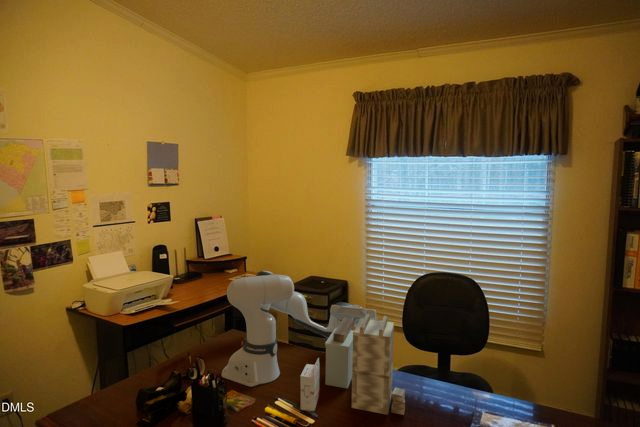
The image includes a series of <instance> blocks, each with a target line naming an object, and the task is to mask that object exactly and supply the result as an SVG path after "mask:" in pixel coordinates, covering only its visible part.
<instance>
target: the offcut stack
mask: <svg viewBox="0 0 640 427" xmlns="http://www.w3.org/2000/svg"><path fill="white" fill-rule="evenodd" d="M405 397H406V389H402V388H399V387H394V389H392V395H391V400H392V401H391V402H392V403H391V413H393V414H397V415H402V416H405V411H406V410H405V409H406V399H405Z"/></svg>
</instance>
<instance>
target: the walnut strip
mask: <svg viewBox="0 0 640 427" xmlns="http://www.w3.org/2000/svg"><path fill="white" fill-rule="evenodd" d="M353 326H354V318H350V317H344V318H343V320H342V321H341V323H340V324H339V326H338V327H337V329H336V330H335V332H334V333H333V341H335V342H342V343H344V341H345V340H346V338H347V336H348V334H349V333H350V331H351V330H352V329H353Z"/></svg>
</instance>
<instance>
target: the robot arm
mask: <svg viewBox="0 0 640 427" xmlns="http://www.w3.org/2000/svg"><path fill="white" fill-rule="evenodd" d="M226 297H227V300H228V302H229V303H230V304H231V305H232V306H233V307H234V308H235V309H236V308H237V309H238V310H239V311H240V313H242V315H243V317H244V320H245V324H246V326H245V327H246V336H245V337H244V338H243V340H242V341H241V342H240V343H241V344H240V346H242V347H241V348H240V349H238V350H236V351H235V352H234V353H233V354H232V355H231V356H230V358H229V359H228V363H227V365H226V366H225V367H224V368H223V369H222V371H221V377H222V378H224V379H227V380H230V381H232V382H235V383H238V384H240V385H244V386H247V387H250V388H251V387H252V388H253V387H256V386H258V385H263V384H267V383H271V382H273V381H275V380H277V378H279V376H280V374H281V371H280V367H279V364H278V358H277V352H278V338H277V335H276V334H277V331H276V330H277V325H276V324H277V322H276V318H275V317H274V316H273V315H272V313H270V308H271V309H273V310H275V311H278V312H281V313H285V314H288V315H290V316H291V317H292V318H293V319H294V322H295V323H296V324H297V325H299V326H300V327H303V328H305V329H307V330H309V331H312V332H313V333H316V334H318V335H320V336H322V337H325V338H327V339H328V338H329V337H330V335H331V334H332V332H333V331H334V329H335V328H337V327H338V326H339V324H340V323H341V321H342V320H343V318H344V317H350V318H354V326H353V327H354V329H355V328H356V326H357V324H358V322H359V320H360V318H361V319H364V318H365V316H366V314H370V320H377V319H378V318H379V316H378V315H377V310H376V309H370V308H363V307H362V306H360V305H359V304H352V303H347V302H342V301H341V302H340V301H339V302H337V303H335V304H331V306H330V312H329V313H330V316H329V322H328V324H327V326H326V327H325V326H323V325H321V324H320V323H319V324H318V323H316V322H314V321H313V320H311V318H310V316H309V311H308V304H307V303H308V302H307V300H306V298H305V296H304V295H303V294H302V293H300V292H298V291H295V284H294V282H293V279H292V277H290V276H289V275H287V274H286V275H284V274H275V273H273V272H271V271H269V270H262V271H261V270H260V271H257V273H256V275H255V276H244V277H241V278H237V279H234V280H231V282H230V283H228V285H227V289H226ZM353 327H352V328H353Z"/></svg>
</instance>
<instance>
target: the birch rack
mask: <svg viewBox="0 0 640 427" xmlns="http://www.w3.org/2000/svg"><path fill="white" fill-rule="evenodd" d="M388 320H389V318H388V316H387V315H383V318H382V320H377V319H375V320H370V314H366V316H365V318H364V319H361V318H360V320H359V322H358V324H357V326H356V328H355V327H354V331H353V360H352V379H351V409H356V410H360V411H361V410H362V411H366V412H371V413H378V414H383V415H385V416H386V415H389V411H390V405H391V402H392V401H391V400H392V392H393V367H394V366H393V365H394V334H395V332H394V331H395V322H392V321H388Z"/></svg>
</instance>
